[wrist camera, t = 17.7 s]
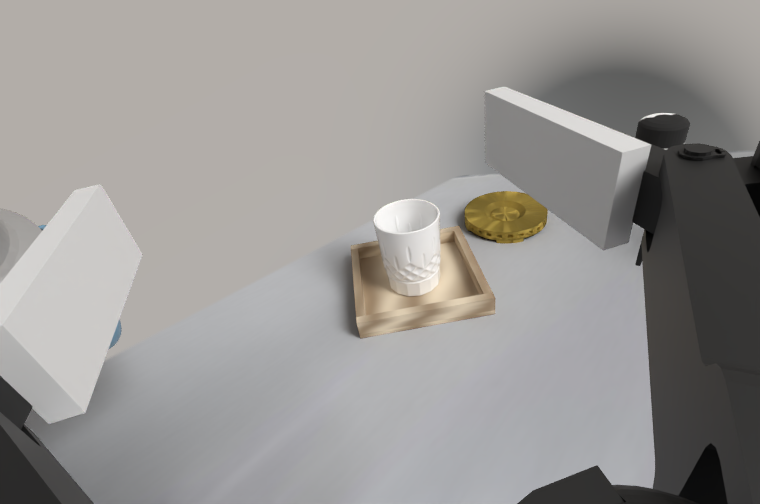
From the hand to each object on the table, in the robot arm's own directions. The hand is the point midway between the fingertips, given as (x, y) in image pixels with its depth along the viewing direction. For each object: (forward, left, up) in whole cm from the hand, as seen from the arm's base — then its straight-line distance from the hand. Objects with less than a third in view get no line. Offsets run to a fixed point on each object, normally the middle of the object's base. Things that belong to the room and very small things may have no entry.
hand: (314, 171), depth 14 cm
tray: (+6, +29, -30) cm, 42 cm away
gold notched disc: (+21, +40, -30) cm, 54 cm away
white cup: (+5, +29, -30) cm, 42 cm away
